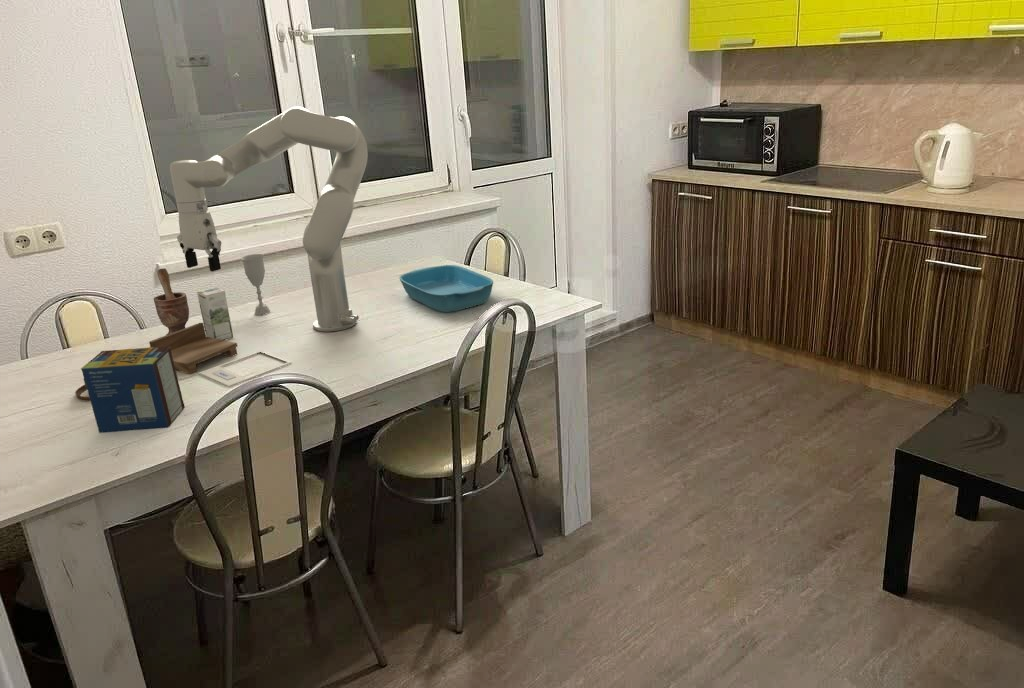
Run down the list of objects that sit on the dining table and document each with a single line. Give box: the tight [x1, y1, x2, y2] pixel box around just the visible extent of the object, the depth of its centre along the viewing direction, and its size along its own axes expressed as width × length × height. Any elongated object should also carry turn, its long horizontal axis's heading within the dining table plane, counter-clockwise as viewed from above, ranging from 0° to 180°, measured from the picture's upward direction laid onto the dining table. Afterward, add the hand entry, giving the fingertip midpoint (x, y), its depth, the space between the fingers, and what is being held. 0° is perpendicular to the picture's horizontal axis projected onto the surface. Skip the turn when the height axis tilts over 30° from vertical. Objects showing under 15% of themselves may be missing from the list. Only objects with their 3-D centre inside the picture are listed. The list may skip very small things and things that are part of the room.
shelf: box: [148, 322, 238, 375], centre depth 204 cm, size 14×16×7 cm
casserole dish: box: [399, 264, 494, 313], centre depth 243 cm, size 37×22×7 cm, turn 32°
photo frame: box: [198, 350, 293, 388], centre depth 197 cm, size 15×1×18 cm
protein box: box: [80, 346, 185, 434], centre depth 169 cm, size 10×15×16 cm
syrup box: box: [196, 287, 234, 341], centre depth 218 cm, size 6×6×14 cm
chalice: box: [240, 253, 271, 316], centre depth 238 cm, size 7×7×18 cm
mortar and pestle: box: [153, 268, 190, 336], centre depth 219 cm, size 12×9×20 cm
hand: (204, 268), depth 213 cm, fingers open, 9 cm apart
